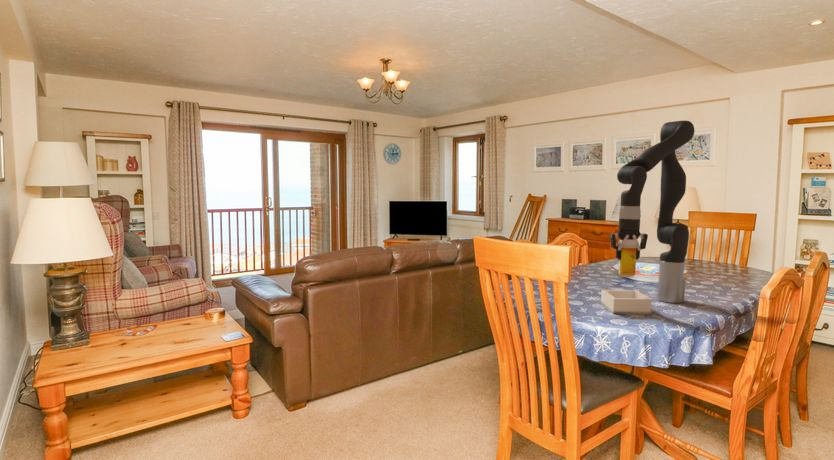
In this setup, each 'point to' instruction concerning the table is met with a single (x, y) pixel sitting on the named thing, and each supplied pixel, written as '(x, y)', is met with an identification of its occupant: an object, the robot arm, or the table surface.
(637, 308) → the box
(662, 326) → the table surface
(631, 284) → the table surface
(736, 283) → the table surface
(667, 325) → the table surface
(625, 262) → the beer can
